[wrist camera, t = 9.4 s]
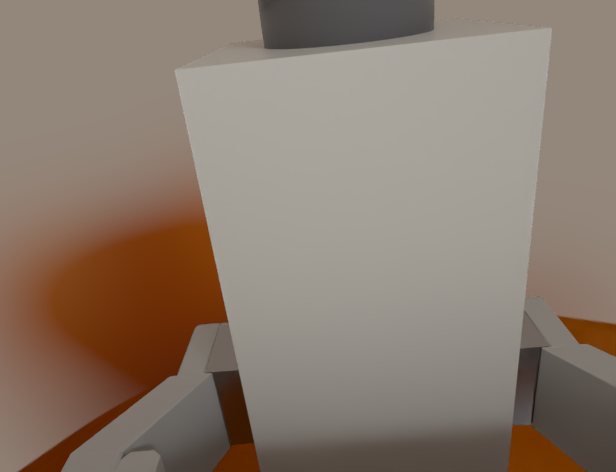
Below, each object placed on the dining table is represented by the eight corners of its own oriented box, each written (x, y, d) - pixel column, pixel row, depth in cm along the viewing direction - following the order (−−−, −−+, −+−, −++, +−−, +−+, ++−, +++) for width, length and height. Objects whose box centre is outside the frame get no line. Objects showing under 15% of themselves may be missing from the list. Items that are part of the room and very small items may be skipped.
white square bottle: (314, 552, 15) (210, -87, 8) (442, 545, 15) (455, -119, 8) (313, 721, 12) (126, -161, 4) (483, 716, 11) (577, -223, 4)
